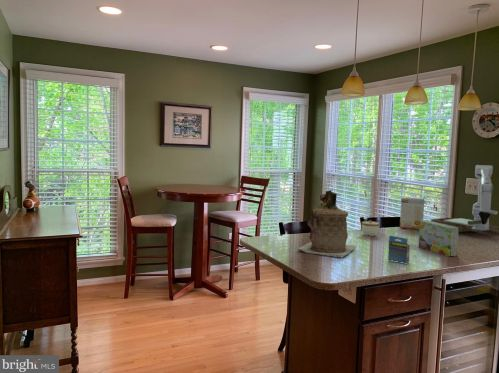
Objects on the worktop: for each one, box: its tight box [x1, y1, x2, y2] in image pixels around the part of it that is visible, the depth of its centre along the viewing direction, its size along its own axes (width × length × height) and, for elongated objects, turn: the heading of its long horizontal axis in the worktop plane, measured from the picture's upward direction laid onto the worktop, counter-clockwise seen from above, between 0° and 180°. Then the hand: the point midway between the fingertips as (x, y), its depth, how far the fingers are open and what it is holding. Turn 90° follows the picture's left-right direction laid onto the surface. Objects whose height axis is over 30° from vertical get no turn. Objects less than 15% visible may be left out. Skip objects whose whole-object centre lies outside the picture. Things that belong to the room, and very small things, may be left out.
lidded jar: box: [360, 219, 380, 237], centre depth 245 cm, size 11×11×9 cm
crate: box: [430, 217, 473, 233], centre depth 270 cm, size 18×18×6 cm
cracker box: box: [399, 196, 425, 231], centre depth 269 cm, size 14×6×21 cm, turn 58°
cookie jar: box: [297, 190, 357, 259], centre depth 204 cm, size 25×25×32 cm
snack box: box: [418, 219, 459, 257], centre depth 207 cm, size 21×6×15 cm, turn 21°
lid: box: [445, 218, 487, 227], centre depth 261 cm, size 18×18×3 cm
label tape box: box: [387, 235, 411, 264], centre depth 186 cm, size 9×4×12 cm, turn 48°
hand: (483, 224), depth 250 cm, fingers closed
